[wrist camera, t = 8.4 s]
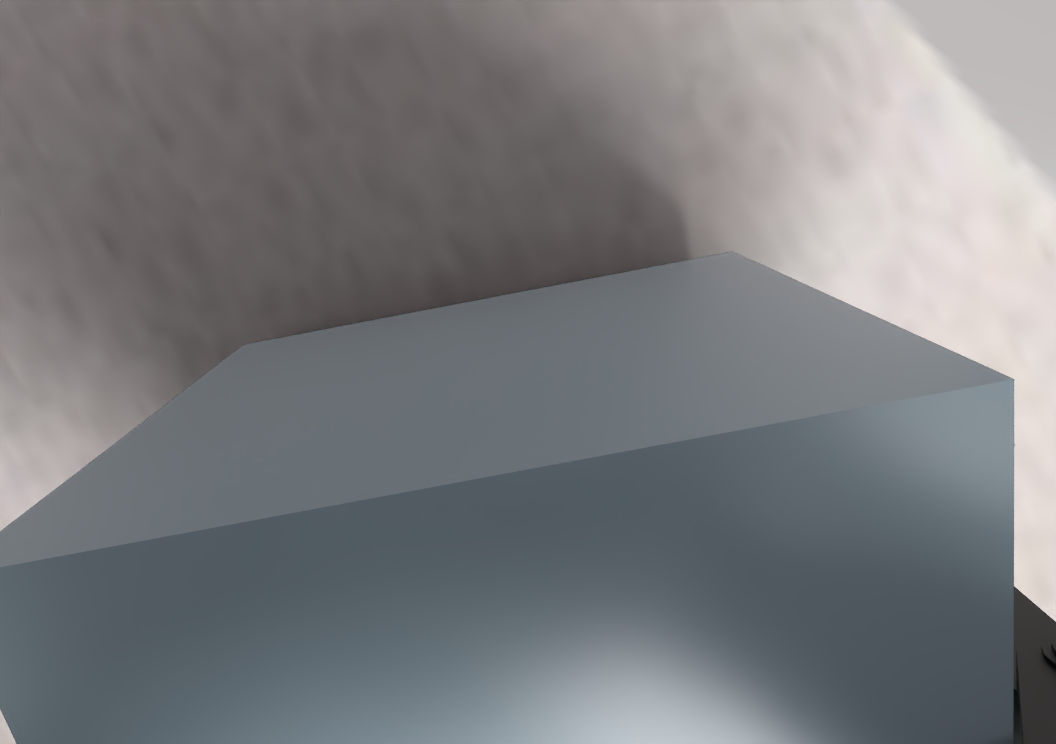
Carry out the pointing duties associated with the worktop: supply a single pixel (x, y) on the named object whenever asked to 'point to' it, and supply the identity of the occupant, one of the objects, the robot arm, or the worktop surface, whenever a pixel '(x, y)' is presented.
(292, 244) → the worktop surface
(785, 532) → the slate gray cube
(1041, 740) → the robot arm
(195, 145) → the worktop surface
